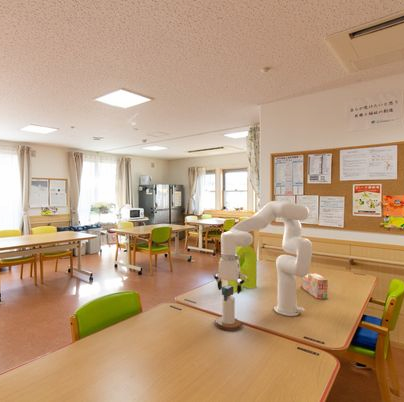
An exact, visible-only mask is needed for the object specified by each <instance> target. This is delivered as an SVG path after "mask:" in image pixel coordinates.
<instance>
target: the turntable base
mask: <svg viewBox="0 0 404 402" xmlns="http://www.w3.org/2000/svg"><path fill="white" fill-rule="evenodd" d="M214 325H215V327H216V328H217V329H219V330H222V331H225V332H238V331H240V330H241V329H242V327H243V323H242V322H241V321H240V326H239V327H237V328H233V329H230V328H224V327H221V326H219V325H218V324H217V319H215V321H214Z"/></svg>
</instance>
